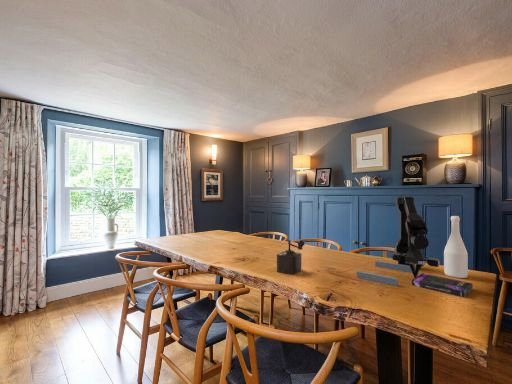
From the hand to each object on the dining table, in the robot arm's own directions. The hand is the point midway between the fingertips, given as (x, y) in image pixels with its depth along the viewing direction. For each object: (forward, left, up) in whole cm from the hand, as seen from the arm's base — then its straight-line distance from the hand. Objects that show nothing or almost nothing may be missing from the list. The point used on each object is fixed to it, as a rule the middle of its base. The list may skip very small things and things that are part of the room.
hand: (415, 277), depth 125 cm
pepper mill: (+27, -51, -2) cm, 58 cm away
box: (+3, +11, -2) cm, 11 cm away
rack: (0, -13, -1) cm, 13 cm away
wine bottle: (-22, +14, -2) cm, 26 cm away
